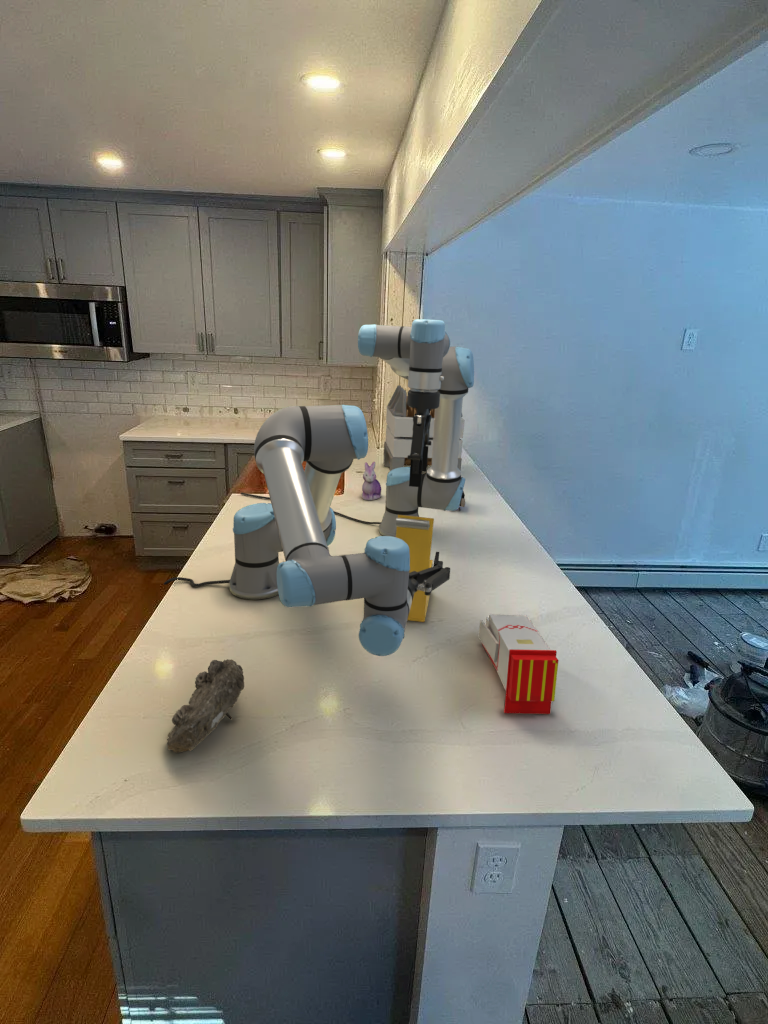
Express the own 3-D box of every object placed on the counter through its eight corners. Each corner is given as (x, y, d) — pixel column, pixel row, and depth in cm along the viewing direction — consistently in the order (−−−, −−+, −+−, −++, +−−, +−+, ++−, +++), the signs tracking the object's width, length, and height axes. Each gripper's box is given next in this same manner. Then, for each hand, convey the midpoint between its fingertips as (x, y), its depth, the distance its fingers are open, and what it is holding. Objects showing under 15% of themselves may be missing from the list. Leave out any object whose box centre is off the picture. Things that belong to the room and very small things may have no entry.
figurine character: (465, 515, 224) (460, 499, 237) (467, 498, 221) (462, 483, 234) (448, 515, 224) (444, 499, 237) (450, 498, 220) (445, 482, 234)
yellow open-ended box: (398, 590, 160) (400, 556, 157) (430, 593, 159) (432, 559, 155) (389, 617, 146) (391, 581, 142) (424, 622, 144) (427, 585, 141)
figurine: (366, 502, 230) (367, 466, 225) (355, 494, 239) (356, 460, 234) (386, 499, 235) (388, 464, 229) (375, 492, 243) (377, 458, 238)
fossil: (192, 660, 117) (244, 628, 112) (224, 691, 120) (276, 661, 115) (142, 746, 98) (202, 712, 93) (182, 779, 101) (242, 748, 96)
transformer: (382, 463, 289) (386, 382, 275) (445, 464, 293) (451, 384, 279) (390, 482, 257) (394, 392, 243) (460, 483, 261) (468, 394, 247)
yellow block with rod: (398, 515, 143) (394, 513, 134) (434, 518, 142) (432, 516, 133) (391, 578, 142) (387, 581, 133) (427, 583, 141) (425, 585, 132)
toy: (524, 600, 137) (567, 656, 108) (520, 651, 140) (560, 720, 111) (474, 599, 137) (504, 655, 107) (471, 650, 140) (498, 719, 110)
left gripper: (329, 607, 112) (353, 562, 132) (456, 622, 108) (461, 575, 128) (330, 572, 109) (354, 533, 129) (459, 587, 106) (464, 544, 126)
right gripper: (435, 398, 118) (428, 495, 126) (444, 384, 142) (437, 466, 149) (400, 396, 120) (395, 492, 127) (414, 382, 143) (409, 464, 150)
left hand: (407, 553), depth 129 cm, fingers open, 13 cm apart
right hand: (418, 478), depth 138 cm, fingers open, 13 cm apart
